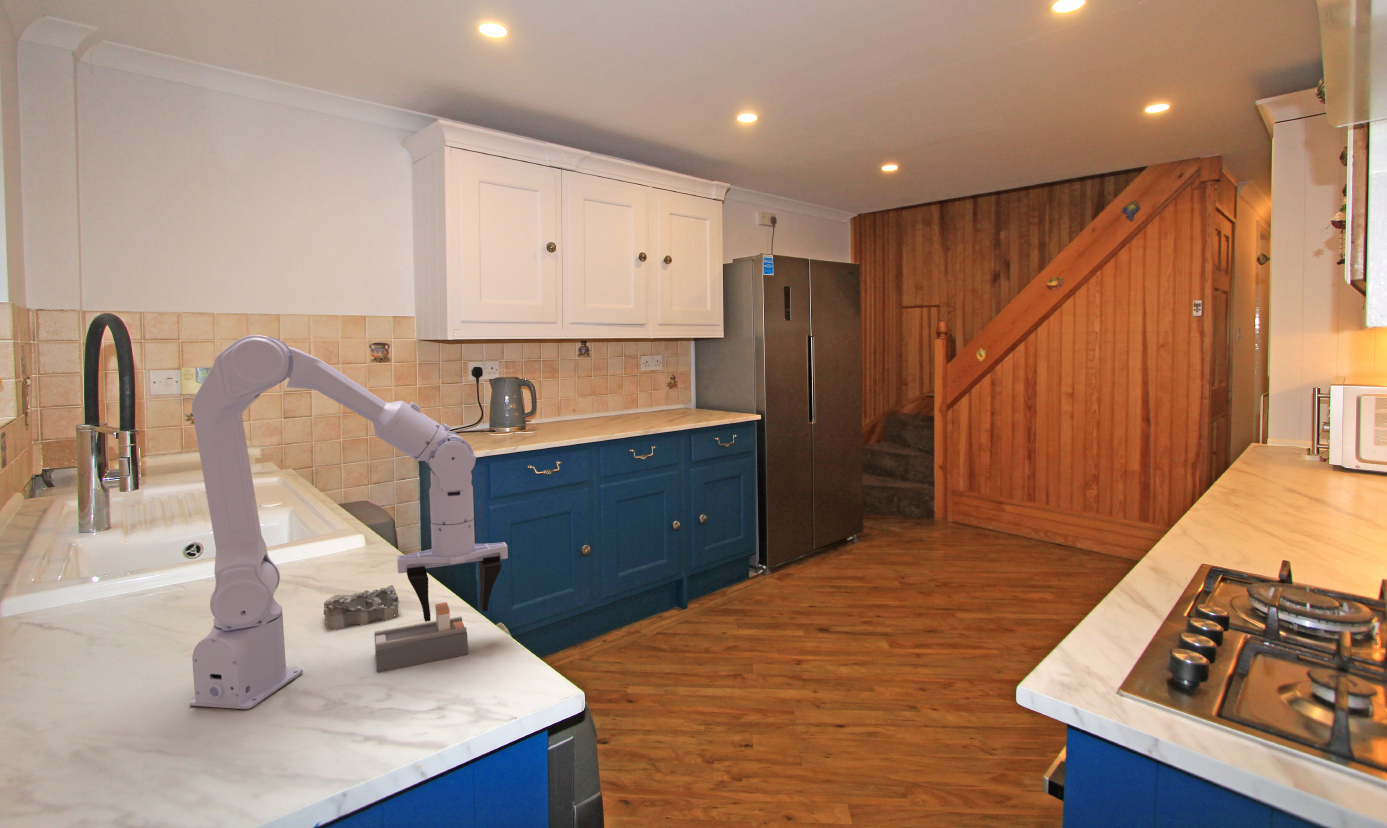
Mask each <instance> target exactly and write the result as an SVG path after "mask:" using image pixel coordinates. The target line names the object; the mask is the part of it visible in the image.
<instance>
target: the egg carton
mask: <svg viewBox="0 0 1387 828" xmlns="http://www.w3.org/2000/svg"><path fill="white" fill-rule="evenodd" d="M399 604H400V599H399V596H398V593H397V591H396V589H395V586H394V585H393V584H391V585H389V586H386V587H381V588H380V589H373V590H372V591H369V590H368V589H366V590H363V591H362V592H356V593H352V594H336V595H333V596H330V598H328V599H326V600H325V601H324V603H323V616H324V620H325V622H326V629H327V630H330V629H334V630H342V629H345V628H346V627H347V626H350V625H354V624H356V625H361V626H363V625H366V624H369V623H371V620H372V621H376V620H383V619H384V620H383V621H387V620H386V619H389V620H391V619H390V618H394V617H395V616H394V615H397V616H399V615H398V614H399ZM382 605H387V606H382ZM393 616H394V617H393ZM375 619H376V620H375Z"/></svg>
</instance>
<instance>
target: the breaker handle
mask: <svg viewBox="0 0 1387 828" xmlns="http://www.w3.org/2000/svg"><path fill="white" fill-rule="evenodd" d="M450 616H451V615H450V608H449V604H448V602H446V601H445V602H439V603H435V621H436V625H437V628H438V631H439V632H440V631H445V630H450V618H451V617H450Z"/></svg>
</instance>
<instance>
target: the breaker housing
mask: <svg viewBox="0 0 1387 828" xmlns="http://www.w3.org/2000/svg"><path fill="white" fill-rule="evenodd" d="M373 634H374V635H373V636H374V637H373V638H374V650H375V651H374V653H375V664H376V665H375V666H376V672H377V673H379V672H380V673H381V672H385V671H390V670H395V669H400V668H405V667H411V666H415V665H421V664H425V663H426V664H427V663H431V662H435V661H441V659H442V660H445V659H446V658H447V659H451V658H456V657H457V658H458V657H460V656H461V655H462V656H467V655H468V654H469V646H468V645H469V643H468V641H469V640H468V630H467V627H466V626H465V624H464V623H463V617H462V616H457V617H450V630H445V631H440V632H439V631H438V628H437V625H436V620H432V621H427V622H423V623H422V622H421V623H417V624H416V623H415V624H410V625H403V626H398V627H393V628H387V629H386V628H385V629H381V630H375V631H374V633H373Z"/></svg>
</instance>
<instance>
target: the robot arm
mask: <svg viewBox="0 0 1387 828" xmlns="http://www.w3.org/2000/svg"><path fill="white" fill-rule="evenodd" d="M287 379H289V380H288V381H287V384H286V388H294V389H304V390H314V391H317V392H319V393H321V394H322V395H324V396H326V397H328V398H329V399H331V400H333V401H335V402H336V403H338V404H340V405H342V406H344V407H346V408H347V409H349V410H351V411H353V413H356V414H358V415H359V416H361V417H363V418H364V419H367V420H369V421H370V422H372V424H373V429H374V433H375V437H377V438H378V439H380V440H382V441H384V442H385V443H386V444H387V443H388V444H389V445H390V446H392V447H394V448H395V449H397V450H398V451H400V452H402V453H404V454H405V455H407V456H408V457H410V458H412V459H414V460H415V461H417V462H422V461H424V462H426V463H427V465H428V467H429V468H430V469H431V470H430V488H429V510H430V511H429V513H430V534H431V535H430V536H431V537H430V538H431V549H426V550H421V551H417V552H412V553H409V554H402V555H397V556H396V557H397V558H396V561H397V562H396V563H397V565H396V566H397V572H398V574H405V573H406V576H407V579H408V581H409V583H410V585H411V586H412V588H413V590H414V591H415V594H416V596H417V598H418V601H419V602H420V604H421V609H422V612H423V620H424V623H426V622H432V621H431V608H430V602H429V576H428V571H427V569H430V568H431V569H432V568H439V567H444V566H453V565H459V564H460V565H461V564H466V563H473V562H478V571H479V583H480V584H479V585H480V586H479V605H480V606H479V607H480V609H481V611H482V613H486V612H488V611H489V603H490V599H491V595H492V594H491V593H492V591H493V588H494V585H495V582H496V580H497V579H498V576H499V574H500V572H501V571H502V564H503V563H502V561H501V560H505V559H508V558H509V555H508V554H509V553H508V549H509V548H508V544H507V543H506V542H505V541H503V542H492V543H491V542H490V543H475V542H476V541H475V511H474V488H473V485H472V481H473V476H472V470H473V469H474V468H475V465H476V461H477V456H475V453H474V449H473V448H472V446H471V445H470V444H469V442H468V441H467V440H465V439H464V438H463V437H461V436H460V435H459V434H458V433H457V432H454V431H450V430H451V429H452V428H451V426H449V425H448V424H447V423H443V424H440V423H438V421H436V420H434V419H433V418H432V417H429V416H428V415H426V414H424V413H423V412H422V411H420V410H421V406H420V405H419V404H418V403H417V404H416V403H415V402H414V401H411V402H410V403H409V404H408V402H405V401H404V400H398V401H397V400H396V401H391V402H386V401H385V400H383V399H381V398H380V397H378V396H377V395H376V394H374V393H372V392H371V391H370V390H368V389H367V388H365V387H363V386H362V385H361V384H359V383H357V382H356V381H354V380H353V379H352V378H350V377H348V376H347V375H345V374H344V373H342V372H341V371H339V370H337V369H336V368H335V367H333V366H331V365H330V364H329V363H326V361H324V360H322V359H320V358H318V357H316V356H313V355H311V354H309V353H307V352H306V351H305V352H304V351H303V350H301V349H299V348H295V347H293V346H292V347H291V346H290V347H289V346H288V345H287V344H286V343H285V342H283V341H282V340H280V339H278V338H275V337H273V336H272V337H271V336H266V335H260V334H251V335H245V336H242V337H240V338H238V339H237V340H235V341H234V342H232V343H231V344H230V345H229V346H228V347H226V348H225V349H223V350H222V351H221V352H220V353H219V354H217V355H216V357H215V359H214V361H213V364H212V366H211V368H210V370H209V372H208V373H207V376H206V377H205V379H204V380H203V382H202V384H201V385H200V387H199V389H198V390H197V393H195V396H194V397H193V400H192V402H191V413H192V417H193V423H194V430H195V436H196V440H197V446H198V454H199V459H200V463H201V470H202V476H203V482H204V487H205V488H204V489H205V494H206V499H207V506H208V510H209V516H210V522H211V528H212V533H213V540H214V546H215V556H214V557H215V559H214V570H213V571H214V572H213V573H214V578H215V587H214V590H213V593H212V595H211V596H210V601H209V607H210V611H211V614H212V616H213V621H212V622H213V626H212V628H211V630H210V632H209V633H208V634H207V636H205V637H204V638H203V639H201V640H200V641H199V642H198V643H197V644H196V645H195V647H194V649H193V652H192V661H191V662H192V674H193V686H194V698H192V699H191V700H190V701H189V705H190V706H194V707H210V708H224V709H225V708H226V709H237V710H239V709H240V710H249V709H251V708H253V707H254V706H257V705H258V704H259V703H260V702H261V701H263V700H265V699H266V698H268V697H269V696H270V695H272V694H273V693H275V692H277V691H278V690H280V688H282V687H284V686H285V685H286V684H288V683H289V682H292V680H294V679H295V678H297V677H298V676H300V675H301V674H302V673H303V672H304V671H303V668H298V667H297V668H295V667H287V665H286V664H287V663H286V648H285V645H286V644H285V631H284V617H283V616H284V615H283V613H284V612H283V606H282V605H280V604H279V603H278V602H277V601H276V599H275V597H274V595H275V592H276V590H277V589H278V587H279V585H280V582H281V581H280V580H281V574H280V571H279V568H278V566H277V565H276V564H275V563H274V562H273V561H272V559H271V558H270V556H269V553H268V549H267V545H266V541H265V539H264V538H263V535H262V530H261V524H260V517H259V511H258V503H257V498H256V493H255V486H254V481H253V480H254V479H253V474H252V467H251V461H250V456H249V451H248V444H247V437H246V432H245V425H244V418H243V414H244V412H246V410H247V409H248V408H249V407H250V406H252V404H253V403H254V402H255V401H256V400H258V398H259V397H260V395H261V394H262V393H265V392H267V390H269V389H271V388H273V387H275V386H277V385H278V384H281V383H283V382H284V381H285V380H287Z"/></svg>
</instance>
